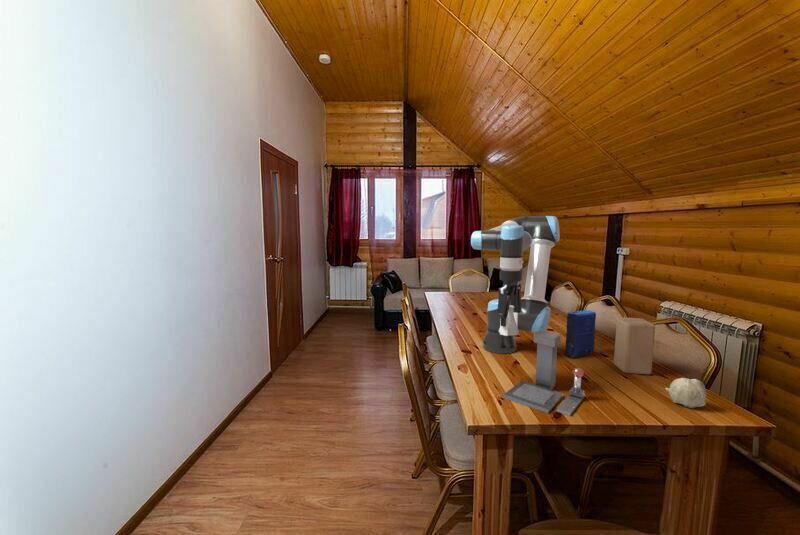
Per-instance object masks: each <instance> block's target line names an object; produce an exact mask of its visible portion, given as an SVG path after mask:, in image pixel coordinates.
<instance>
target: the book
mask: <svg viewBox="0 0 800 535" xmlns="http://www.w3.org/2000/svg"><path fill="white" fill-rule="evenodd" d="M596 317H597V312H596V311H592V310H587V309H585V310H577V311H569V312H567V316H566V333H565V334H566V336H565V338H566V339H565V349H564V350H565V351H564V355H565V356H567V357H568V358H578V357H584V356H587V355H591V354H593V353H594V352H595V338H596V337H595V335H596V334H595V333H596Z"/></svg>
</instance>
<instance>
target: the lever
mask: <svg viewBox="0 0 800 535" xmlns="http://www.w3.org/2000/svg"><path fill="white" fill-rule="evenodd" d="M572 375H573V386H571V388H570V389H569V390H568V395H569V394H571V395H574V396H577V397H582V396H583V395H584V394H585V390H584V389H582V386H581V385H582V377H584V370H583V369H582V368H580V367H575V368H573V369H572Z"/></svg>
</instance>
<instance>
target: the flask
mask: <svg viewBox="0 0 800 535" xmlns="http://www.w3.org/2000/svg"><path fill="white" fill-rule="evenodd" d="M513 310H514V306H511V305H510V306H509V311H508V316H507V317H509V325H508V335H514V336H518V335H520V332H519V330H518V328H517V325H516V322H515V318H514V312H513ZM498 332H499V333H500V329H499V331H498Z"/></svg>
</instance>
